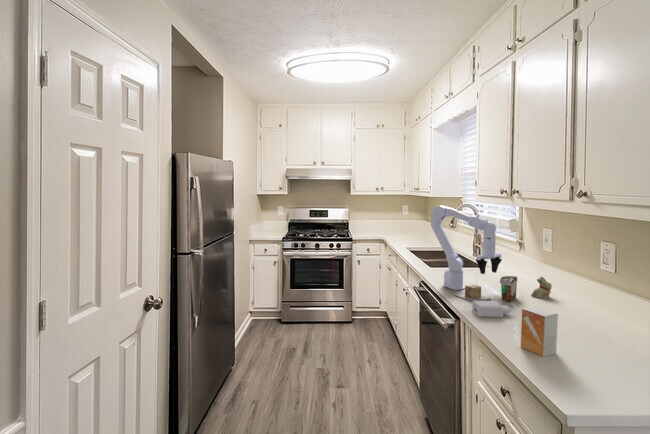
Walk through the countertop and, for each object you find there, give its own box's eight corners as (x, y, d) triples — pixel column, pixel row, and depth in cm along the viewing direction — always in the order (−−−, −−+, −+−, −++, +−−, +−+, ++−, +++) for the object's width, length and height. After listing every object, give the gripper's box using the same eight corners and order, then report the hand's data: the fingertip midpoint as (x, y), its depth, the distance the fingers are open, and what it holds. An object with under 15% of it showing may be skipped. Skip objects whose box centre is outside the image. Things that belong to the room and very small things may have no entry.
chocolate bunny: (549, 299, 174) (550, 278, 173) (530, 296, 179) (531, 276, 178) (551, 296, 178) (552, 276, 177) (533, 294, 183) (533, 273, 183)
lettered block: (464, 295, 179) (465, 285, 179) (473, 294, 181) (473, 284, 181) (472, 298, 174) (473, 288, 174) (481, 297, 176) (481, 286, 176)
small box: (520, 347, 122) (521, 308, 121) (533, 343, 125) (534, 305, 124) (543, 357, 115) (544, 316, 114) (557, 353, 117) (558, 313, 116)
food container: (502, 294, 182) (503, 274, 181) (516, 297, 178) (517, 276, 178) (495, 300, 173) (496, 279, 172) (510, 303, 169) (510, 281, 168)
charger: (517, 318, 149) (479, 318, 151) (508, 311, 159) (472, 310, 160) (518, 307, 149) (479, 306, 150) (508, 300, 158) (472, 299, 159)
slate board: (454, 295, 181) (454, 294, 181) (471, 293, 185) (471, 291, 185) (472, 302, 170) (472, 301, 170) (491, 299, 174) (491, 298, 174)
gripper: (484, 248, 180) (483, 276, 181) (506, 246, 186) (505, 273, 187) (473, 246, 186) (472, 273, 188) (495, 244, 192) (494, 270, 193)
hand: (488, 273), depth 187 cm, fingers open, 7 cm apart
